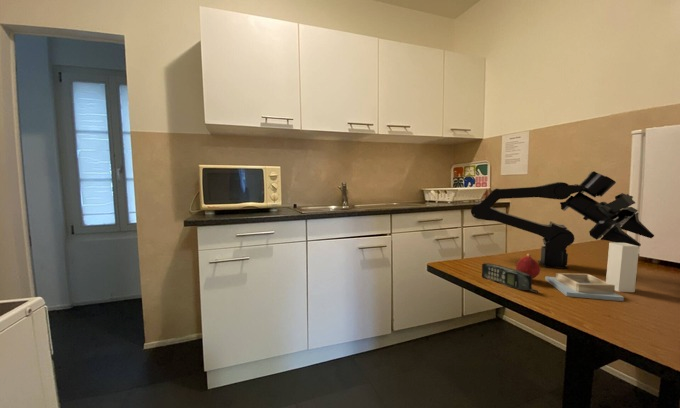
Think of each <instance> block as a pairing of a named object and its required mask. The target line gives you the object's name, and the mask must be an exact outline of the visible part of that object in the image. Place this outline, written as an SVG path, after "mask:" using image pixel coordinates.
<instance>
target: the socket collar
mask: <svg viewBox="0 0 680 408" xmlns="http://www.w3.org/2000/svg"><path fill="white" fill-rule="evenodd" d="M555 277H556V280H557V281H559V282H561V283H562V284H564V285H566V286H568V287H570V288H572V289H574V290H576V291H577V292H596V293H614V292H615V290H614V289H615V285H613V284H610V283H608V282H606V280H604V279H600V278H598V277H596V276H594V275H591V274H589V273H567V272H565V273H564V272H563V273H562V272H556V273H555ZM576 281H582V282H588V283H591V284H582V283H578V282H576Z"/></svg>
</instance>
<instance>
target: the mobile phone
mask: <svg viewBox="0 0 680 408" xmlns="http://www.w3.org/2000/svg"><path fill="white" fill-rule="evenodd" d="M481 277H482V278H483V279H485V280H486V279H487V280H489V281H493V282H495V283H498V284H501V285H504V286H506V287H509V288H513V289H515V290H516V289H517V290H520V291H521V290H523V291H529V292H532V293H536V294H538V293H539V290H537V289H533V288H532V286H533V279H532V278H531V276H530V275H529V274H527V273H524V272H521V271H518V270H516V268H515V269H513V268H510V267H507V266H503V265H500V264H494V263H489V262H483V263H482V264H481Z"/></svg>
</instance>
